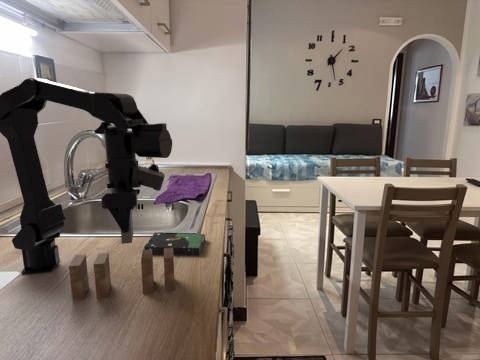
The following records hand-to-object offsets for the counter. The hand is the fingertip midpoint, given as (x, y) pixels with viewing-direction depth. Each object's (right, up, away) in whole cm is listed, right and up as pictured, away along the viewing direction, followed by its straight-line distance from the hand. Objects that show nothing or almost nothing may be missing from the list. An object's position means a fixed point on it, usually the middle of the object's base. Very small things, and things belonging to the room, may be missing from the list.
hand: (126, 227), depth 72 cm
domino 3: (0, -2, +1) cm, 3 cm away
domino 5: (+9, -13, +1) cm, 16 cm away
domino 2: (-4, -13, -2) cm, 14 cm away
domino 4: (+5, -13, 0) cm, 14 cm away
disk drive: (+7, -9, +20) cm, 23 cm away
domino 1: (-8, -13, -3) cm, 16 cm away
